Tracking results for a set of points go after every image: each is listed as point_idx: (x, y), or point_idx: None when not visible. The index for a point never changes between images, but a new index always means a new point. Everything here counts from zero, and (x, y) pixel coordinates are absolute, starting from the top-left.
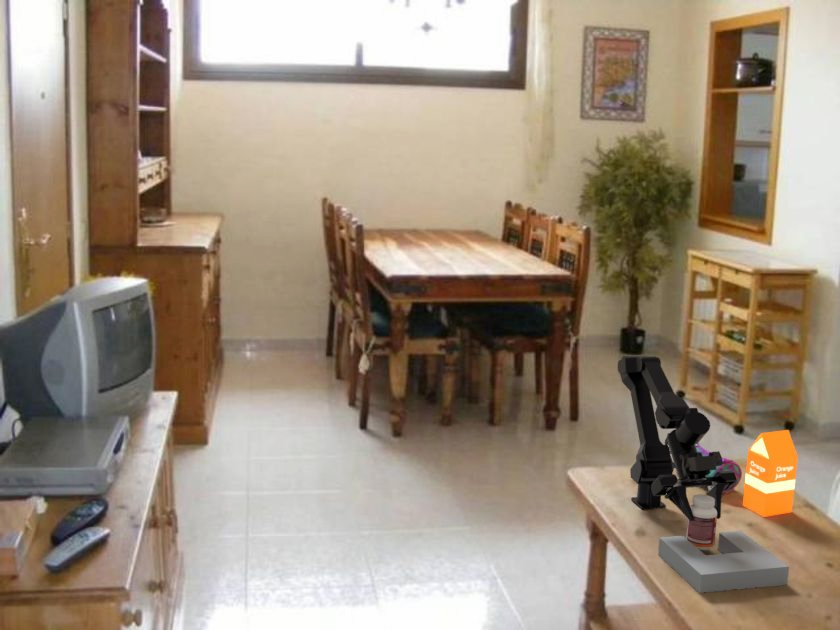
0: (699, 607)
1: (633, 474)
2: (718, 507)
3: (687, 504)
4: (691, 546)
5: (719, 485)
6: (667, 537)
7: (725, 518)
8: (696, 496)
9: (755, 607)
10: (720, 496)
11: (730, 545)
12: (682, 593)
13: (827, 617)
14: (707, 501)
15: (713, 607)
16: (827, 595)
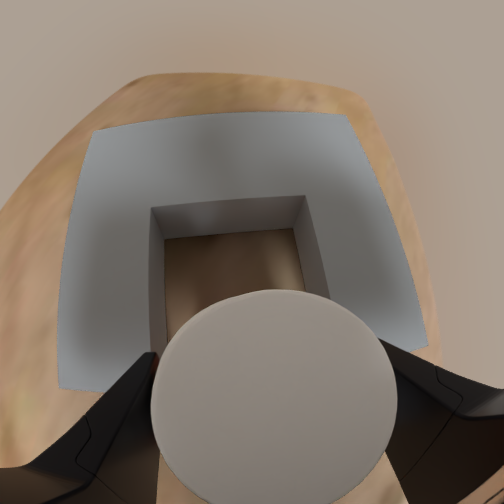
0: (342, 114)
1: None
2: (129, 388)
3: (420, 370)
4: (337, 264)
5: (2, 498)
6: (403, 349)
7: None
8: (349, 458)
9: (236, 99)
10: (62, 446)
11: (153, 300)
12: (367, 154)
13: (134, 83)
14: (275, 317)
15: (317, 109)
16: (73, 133)
